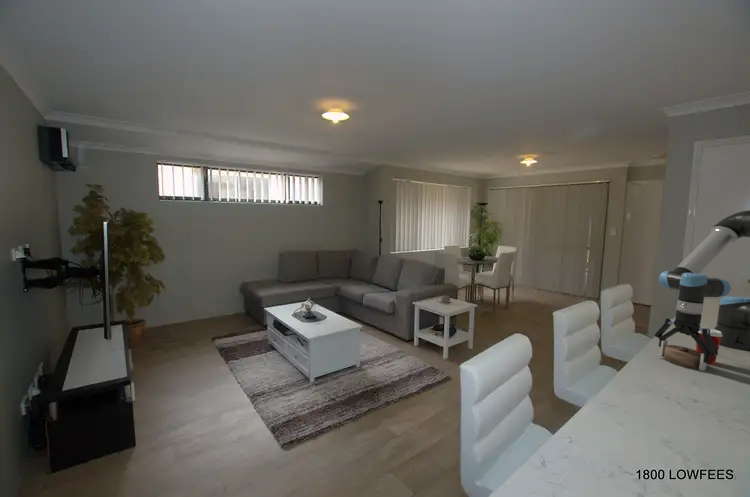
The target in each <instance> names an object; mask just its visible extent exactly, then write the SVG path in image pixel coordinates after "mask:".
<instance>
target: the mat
mask: <svg viewBox="0 0 750 497" xmlns="http://www.w3.org/2000/svg"><path fill="white" fill-rule="evenodd" d="M659 359H660V360H663V361H665V362H667V361H666V360H665V359H664V357H660V358H659ZM680 367H681V368H684V369H686V370H692V369H693V368H686V367H682V366H680Z"/></svg>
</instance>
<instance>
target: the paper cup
mask: <svg viewBox="0 0 750 497" xmlns="http://www.w3.org/2000/svg"><path fill="white" fill-rule="evenodd" d="M700 327H701V328H705V327H704V326H703V327H702V326H700ZM708 328H709V327H708ZM709 329H710V335H711V337H712V340H713V342H714V345H715V347H716V349H717V352H718V353H719V349H720V340H721V337H722V336H723V335H722V333H721V332H720V331H718V330H715V329H714V328H709ZM698 333H699V334H700V336H701V338H702V340H703V341H704V342H705V340H704V337H703V334H702V333H701V331H698ZM695 344H696V345H695V350H696V351H698V352H700V353H701V354H703V351H702V350H701V348H700V347H699V346H698V344H697V343H695ZM705 344H706V342H705ZM717 356H718V355H711V357H710V362H709V363H707V364H706V365H716V360H717Z"/></svg>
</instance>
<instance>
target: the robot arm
mask: <svg viewBox="0 0 750 497" xmlns="http://www.w3.org/2000/svg"><path fill="white" fill-rule="evenodd" d="M740 238H741V239H742V238H750V210H749V209H747V210H742V211H738V212H735V213H733V214H731V215H728V216H727V217H725V218H722V219H721V220H719V222H717V223H716V224H714V226H712V228H710V233H709V234H708V235H707V236H706V237H705V238H704V239H703V240H702V241H701V242H700V243H699V244H698V245H697V246H696V247H695V248H694V249H693V250H692V251H691V252H690V253H689V254H688V255H687V256H686V257H685V258H684V259H683V260H682V261H681V262H680V263H679V264H678V265H677V266H676V267H675V268H674V269H673V270H665V271H662V272H661V273H660V274H659V277H658V282H659V284H660V286H662V287H664V288H667V289H670V290H677V291H678V296H677V304H676V309H677V310H676V311H675V317H674V318H675V319H673V318H671V317H669V318H665V321H664V323H663V324H662V326H661V327H659V329H658V330H657V332H656V333H655V334H654V337H655V338H658V339H659V342H658V347H659V348H660V350H659V356H660V357H664V355H665V347H666V346H667V345H668V342H669V341H668V340H667V339H668V338H670V337H672V336H673V335H675V334H676V333H679V334H682V335H686V336H690V337H691V338H692V339H693V340H694V341H695V342H696V343H697V344H698V346H699V347H700V348H701V350H702V351H703V354H701V359H700V365H699V368H698V370H699V371H706V369H707V365H708V364H707V363H709V362H710V357H711V355H717V356H718V355H719V351H718V352H717V349H716V347H715V345H714V342H713V340H712V337H711V335H710V329H709V327H704V328H701V327H702V326H701V321H702V316H703V315H702V313H703V310H704V308H703V307H704V303H705V302H704V300H705V298H720V297H721V298H720V299H719V300H720V301H719V304H718V306H719V307H718V313H717V321H716V325H715V327H714V328H713V329H715V330H718V331H720V332H721V333H722V335H723V336H722V337H721V340H720V345H721V346H724V347H727V348H732V349H736V350H744V351H750V297H749V296H748V297H747V296H737V295H735V296H734V295H732V296H731V295H730V296H729V295H728V294H729V293H730V292H731V284H730V283H729V282H728V281H727V280H725V279H724V278H717V277H713V278H712V277H708V276H707V275H705V274H702V271H703V270H705V268H707V266H709V265H710V264H711V262H712V261H714V260H715V258H716V257H717V256H718V255H719V254H721V252H723V250H725V248H727V247H728V246H729V244H731V243H735V242H737V241H738V240H739V239H740ZM672 325H674V326H675V327H673V328H671V330H669V331H667V330H668V329H669V328H670V327H671V326H672ZM698 331H701V333H702V334H703V337H704V340H705V342H706V344H705V342H704V341H703V340H702V338H701V336H700V334H699V333H698ZM696 343H695V344H696ZM720 345H719V346H720Z"/></svg>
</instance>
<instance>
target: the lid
mask: <svg viewBox="0 0 750 497" xmlns="http://www.w3.org/2000/svg"><path fill="white" fill-rule="evenodd" d="M663 358H664V359H665V360H666V361H665V360H664V361H665V362H668V363H670V364H672V365H676V366H679V367H681V366H682V367H681V368H683V367H686V368H693V369H699V365H700V359H701V353H700V352H698V351H696V349H693V348H689V347H687V346H682V345H675V344H674V345H673V344H667V346H666V347H665V355H664V356H663ZM686 368H685V369H686Z"/></svg>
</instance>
